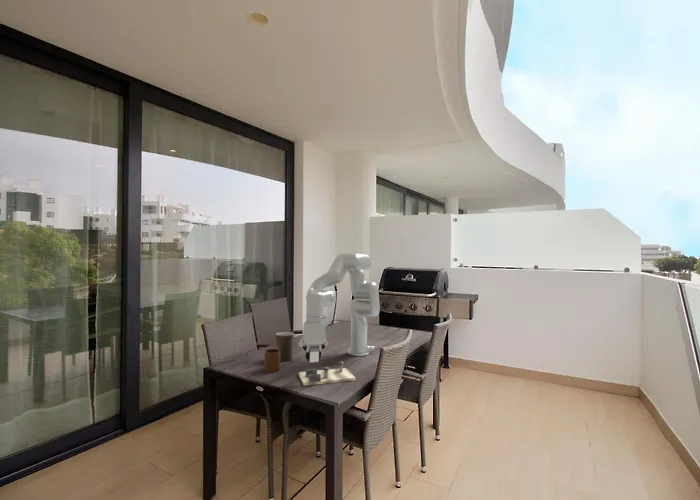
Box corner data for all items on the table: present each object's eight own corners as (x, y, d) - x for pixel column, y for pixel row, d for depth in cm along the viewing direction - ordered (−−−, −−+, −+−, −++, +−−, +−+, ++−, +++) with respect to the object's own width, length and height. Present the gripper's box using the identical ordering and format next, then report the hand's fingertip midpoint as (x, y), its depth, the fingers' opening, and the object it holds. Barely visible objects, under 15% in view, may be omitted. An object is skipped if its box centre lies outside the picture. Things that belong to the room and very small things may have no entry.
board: (346, 370, 170) (346, 359, 170) (355, 380, 157) (355, 368, 157) (298, 374, 162) (298, 362, 162) (303, 385, 149) (304, 372, 149)
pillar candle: (289, 362, 180) (290, 333, 180) (271, 360, 182) (272, 332, 182) (295, 357, 190) (296, 330, 190) (279, 355, 192) (280, 328, 192)
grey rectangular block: (316, 359, 157) (317, 345, 157) (318, 361, 153) (319, 348, 153) (307, 359, 156) (308, 346, 156) (309, 362, 152) (310, 348, 152)
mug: (270, 364, 177) (271, 345, 177) (284, 365, 176) (285, 346, 176) (261, 372, 165) (262, 352, 165) (277, 373, 164) (277, 353, 164)
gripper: (330, 317, 161) (329, 356, 161) (294, 318, 156) (293, 358, 155) (334, 320, 154) (333, 361, 153) (297, 321, 148) (296, 364, 148)
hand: (313, 359), depth 154 cm, fingers closed on grey rectangular block, 4 cm apart
